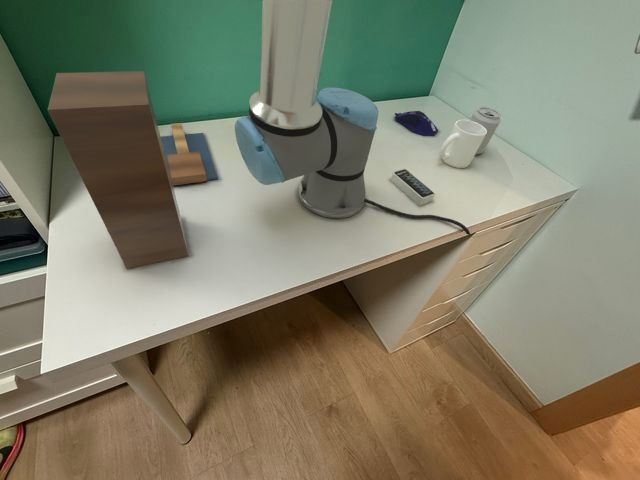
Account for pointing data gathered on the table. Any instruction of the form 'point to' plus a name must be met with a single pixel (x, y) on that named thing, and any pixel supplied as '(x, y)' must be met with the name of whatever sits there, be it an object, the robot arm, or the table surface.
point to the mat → (194, 145)
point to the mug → (462, 143)
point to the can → (486, 124)
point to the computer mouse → (417, 122)
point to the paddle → (184, 160)
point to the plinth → (121, 161)
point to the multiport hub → (412, 187)
